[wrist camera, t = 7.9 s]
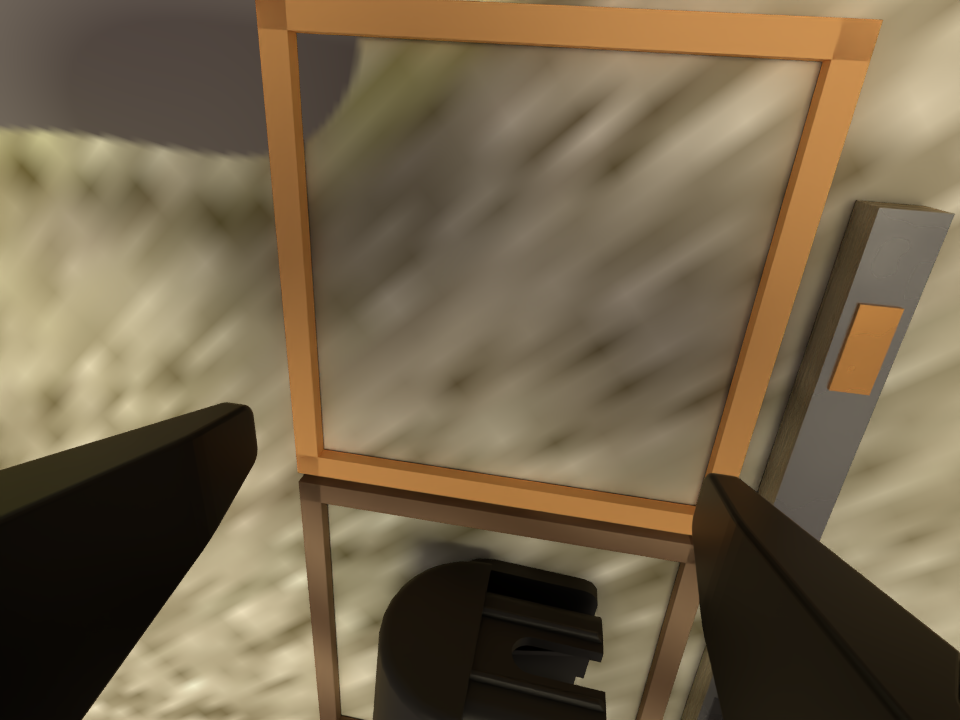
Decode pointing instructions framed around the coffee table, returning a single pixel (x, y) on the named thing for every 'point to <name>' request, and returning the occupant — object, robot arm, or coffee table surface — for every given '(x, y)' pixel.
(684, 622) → the walnut seat frame
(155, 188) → the coffee table surface
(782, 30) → the orange marked frame
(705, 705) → the metal rail
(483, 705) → the end cap
